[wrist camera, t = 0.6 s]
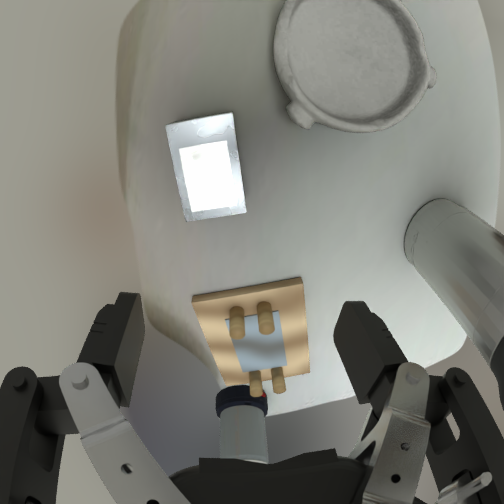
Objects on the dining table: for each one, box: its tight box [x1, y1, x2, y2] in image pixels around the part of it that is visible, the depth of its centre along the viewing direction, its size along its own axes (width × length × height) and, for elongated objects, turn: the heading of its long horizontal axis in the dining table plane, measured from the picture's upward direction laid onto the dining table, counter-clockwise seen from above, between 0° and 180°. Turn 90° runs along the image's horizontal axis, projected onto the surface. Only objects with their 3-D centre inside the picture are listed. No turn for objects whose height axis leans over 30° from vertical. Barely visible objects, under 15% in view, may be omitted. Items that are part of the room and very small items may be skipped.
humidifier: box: [216, 385, 268, 464], centre depth 32 cm, size 8×8×25 cm
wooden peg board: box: [192, 277, 310, 397], centre depth 34 cm, size 16×12×5 cm
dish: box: [273, 0, 437, 133], centre depth 18 cm, size 14×14×5 cm
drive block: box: [166, 112, 247, 222], centre depth 23 cm, size 5×8×4 cm, turn 7°
